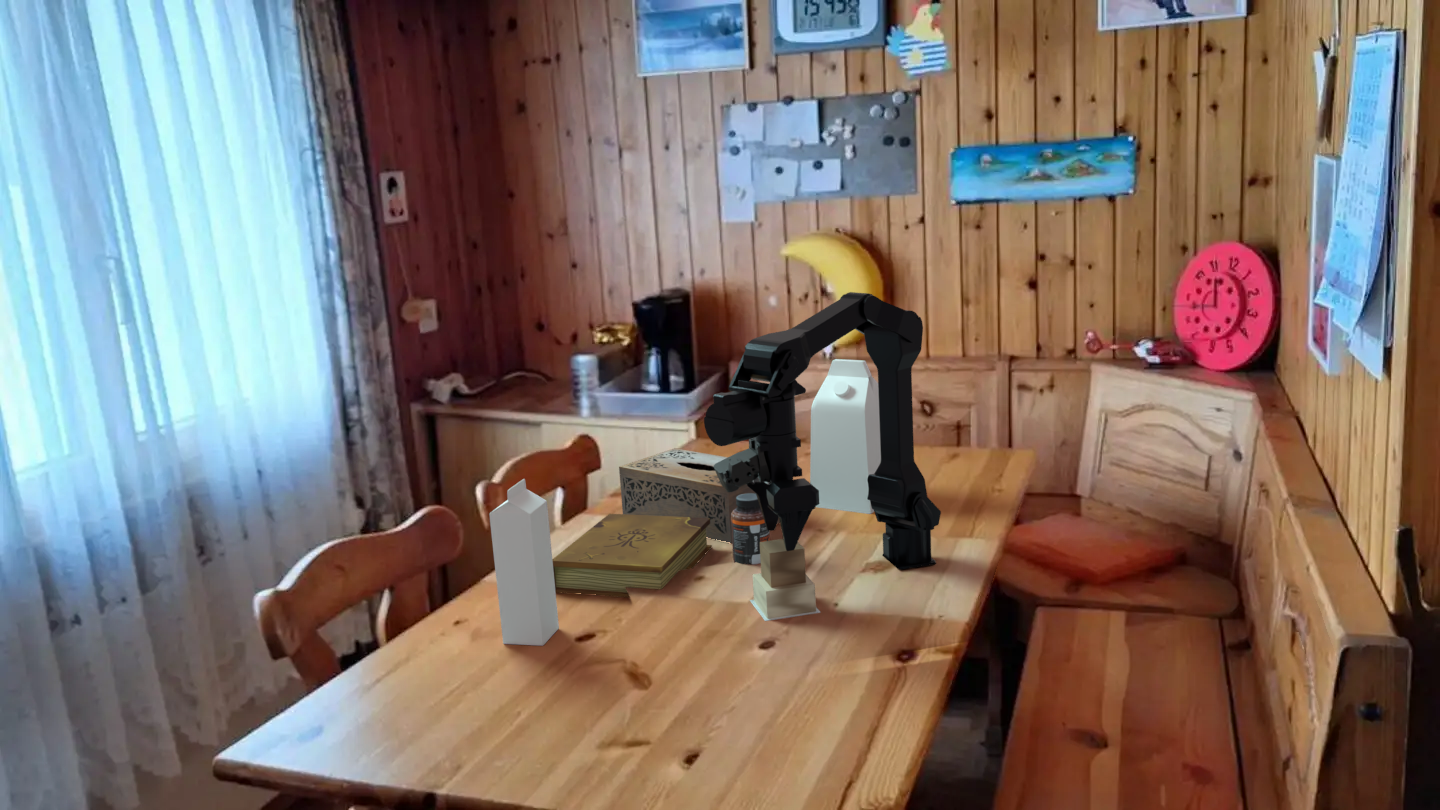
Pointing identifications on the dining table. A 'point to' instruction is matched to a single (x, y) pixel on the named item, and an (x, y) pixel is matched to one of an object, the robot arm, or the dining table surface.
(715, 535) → the tissue box cover
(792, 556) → the walnut cube
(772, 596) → the maple block
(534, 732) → the dining table surface
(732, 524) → the supplement bottle
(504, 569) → the milk
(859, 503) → the milk
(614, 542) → the diary
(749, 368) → the robot arm
